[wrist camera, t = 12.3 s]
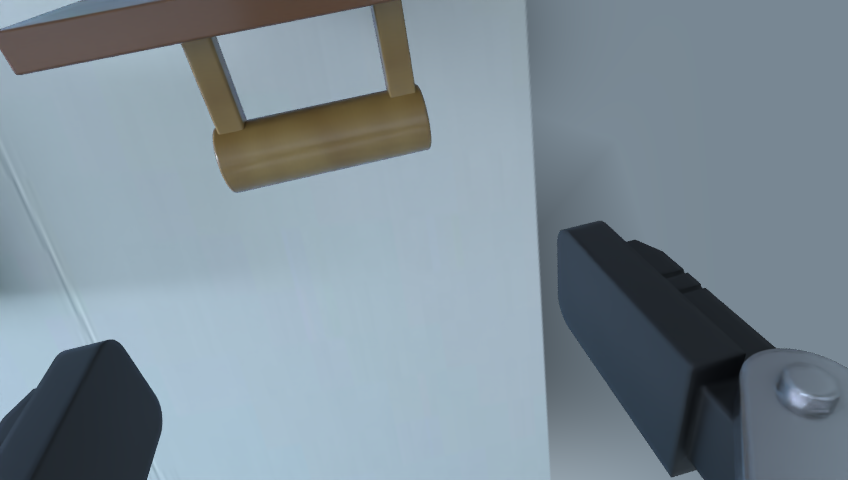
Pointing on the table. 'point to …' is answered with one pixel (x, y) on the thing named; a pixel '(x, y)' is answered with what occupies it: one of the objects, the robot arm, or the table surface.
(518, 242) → the table surface
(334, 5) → the lid
